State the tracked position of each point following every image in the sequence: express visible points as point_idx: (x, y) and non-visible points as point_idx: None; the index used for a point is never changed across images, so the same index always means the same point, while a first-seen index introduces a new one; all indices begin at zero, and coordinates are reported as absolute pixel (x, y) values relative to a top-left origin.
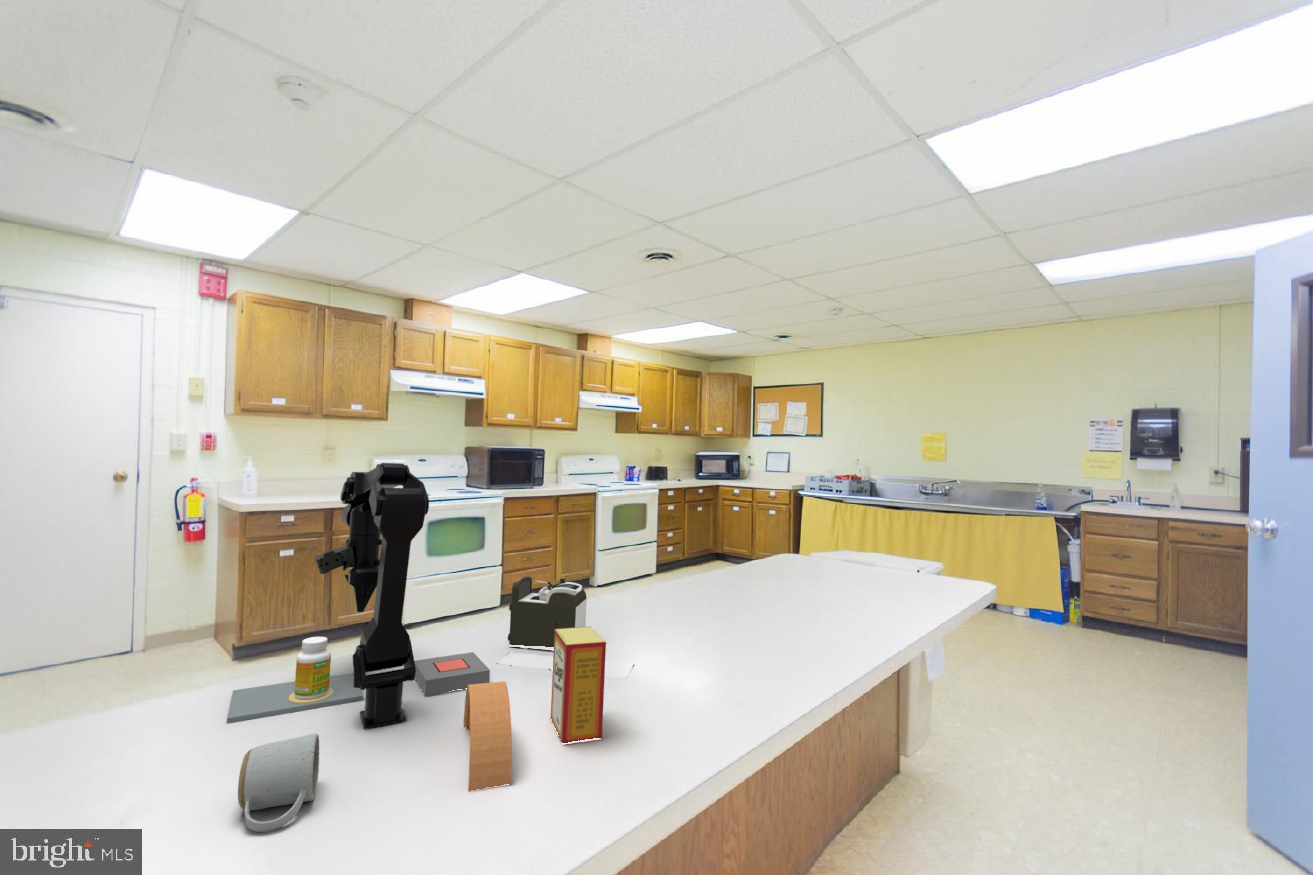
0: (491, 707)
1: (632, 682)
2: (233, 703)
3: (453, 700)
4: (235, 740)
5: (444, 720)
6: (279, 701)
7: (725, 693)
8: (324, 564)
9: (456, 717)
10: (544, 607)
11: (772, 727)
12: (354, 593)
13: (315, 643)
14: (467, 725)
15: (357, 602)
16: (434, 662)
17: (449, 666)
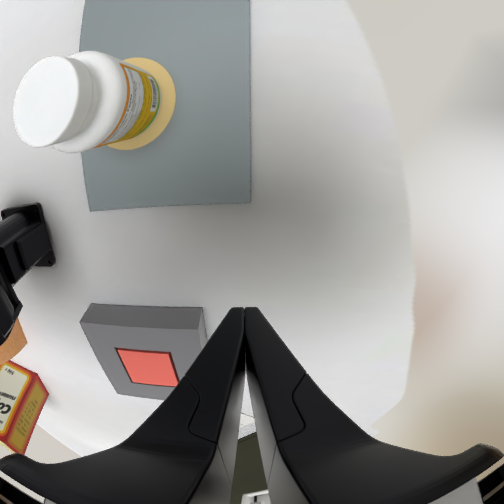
0: None
1: (118, 440)
2: None
3: (76, 329)
4: (27, 35)
5: (25, 302)
6: (119, 45)
7: (94, 450)
8: None
9: (32, 315)
10: (243, 489)
11: (47, 431)
12: (273, 385)
13: (14, 114)
14: None
15: (206, 349)
16: (172, 354)
17: (141, 365)
